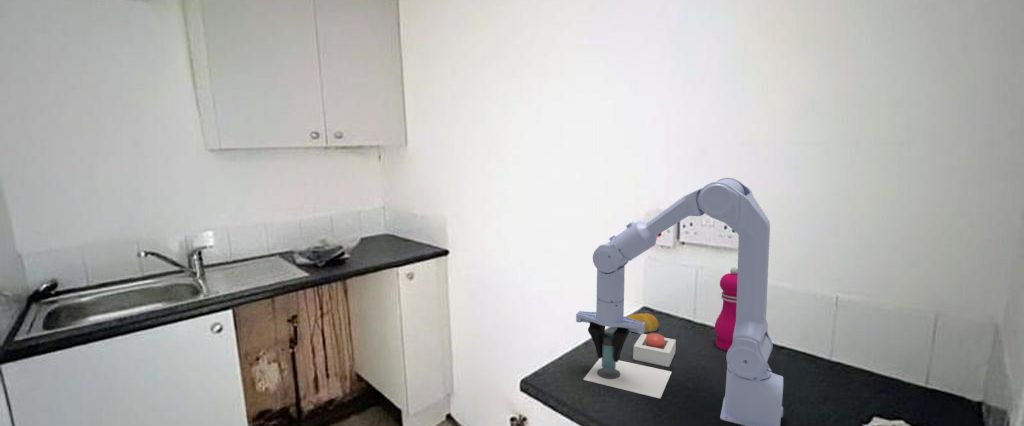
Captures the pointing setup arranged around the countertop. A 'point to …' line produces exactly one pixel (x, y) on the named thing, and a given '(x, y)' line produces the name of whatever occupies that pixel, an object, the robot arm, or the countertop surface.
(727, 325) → the pepper mill
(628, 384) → the paper
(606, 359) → the teal cylinder
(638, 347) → the button housing
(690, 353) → the countertop surface
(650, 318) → the bread roll
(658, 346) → the button
